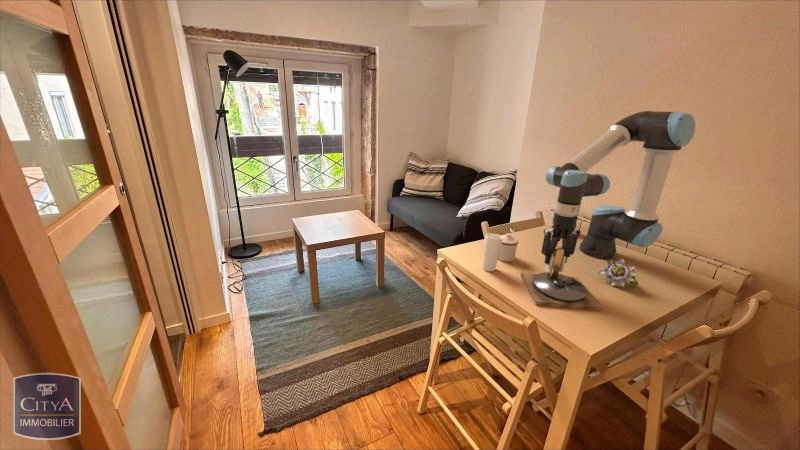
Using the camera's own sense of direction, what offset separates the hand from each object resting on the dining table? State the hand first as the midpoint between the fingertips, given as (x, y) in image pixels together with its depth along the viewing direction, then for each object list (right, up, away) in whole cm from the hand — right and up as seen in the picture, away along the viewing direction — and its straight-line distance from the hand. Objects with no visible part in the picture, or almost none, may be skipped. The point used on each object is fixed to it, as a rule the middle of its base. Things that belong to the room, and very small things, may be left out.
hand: (553, 270), depth 121 cm
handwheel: (0, -6, -4) cm, 7 cm away
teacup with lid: (-13, +3, +23) cm, 26 cm away
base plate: (0, -7, -4) cm, 8 cm away
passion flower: (+28, -6, +5) cm, 28 cm away
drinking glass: (-22, -1, +11) cm, 25 cm away
